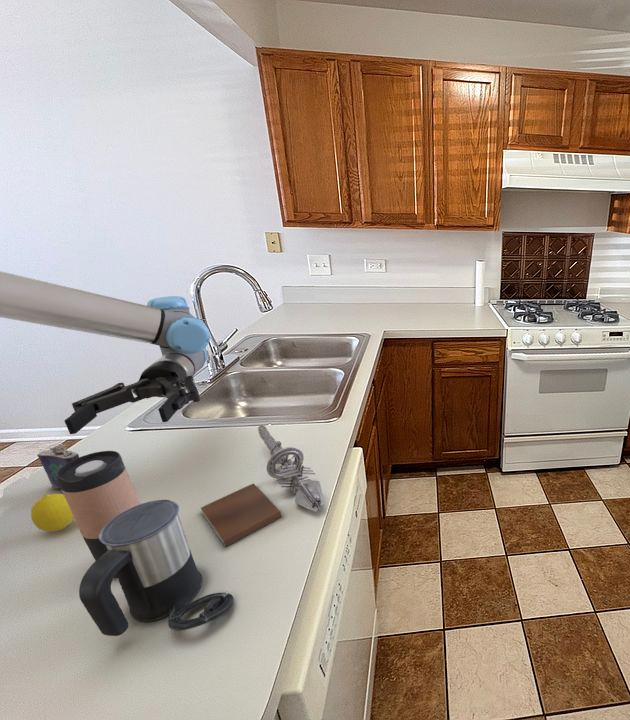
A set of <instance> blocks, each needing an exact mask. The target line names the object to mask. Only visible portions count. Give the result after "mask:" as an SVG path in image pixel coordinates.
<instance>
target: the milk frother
mask: <svg viewBox="0 0 630 720" xmlns="http://www.w3.org/2000/svg"><path fill="white" fill-rule="evenodd" d="M179 512H180V506H179V504H178V503H177V502H175V501H173V500H171V499H157V500H150V501H146V502H144V503H140V505H137V506H134V507H132V508H130V509H128V510H126V511H124V512H122V513H121V514H119V515H118V516H116V517H114V518H113V519H112V520H110V521H109V522H108V523H107V524H106V525H105V526H104V527H103V529H102V530H101V532H100V535H99V540H100V541H101V542H102V543H103V544H105V545H106V547H107V549H108V551H107V552H106V553H104V554H103V555H102V556H101V557H100V558H99V559H98V560H96V561H95V560H94V562H93V563H92V564H91V565H90V566H89V568H88V569H87V570H86V571H85V573H84V575H83V577H82V578H81V581H80V584H79V589H78V596H79V600H80V602H81V604H82V605H83V606H84V609H86V611H87V613H88V614H89V616H90V618H91V619H92V620H93V622H94V623H95V625H96V626H97V628H98V630H99V631H100V632H101V634H102V635H104V636H108V637H119V636H121V635H123V634H124V633H125V632H126V631H127V630H128V628H129V621H128V620H127V618H126V616H125V613H124V612H123V610H122V608H121V607H120V604H119V602H118V600H117V598H116V597H115V595H114V593H113V591H112V589H111V587H112V583H113V580H114V576H115V575H117V577H116V578H117V580H118V582H119V585H120V588H121V590H122V592H123V594H124V597H125V601H126V603H127V605H128V608H129V613H130V616H131V618H133V619H134V620H136V621H139V622H152V621H153V622H154V621H158V620H159V619H163V618H165V617H168V620H167V626H168V628H169V629H170V630H171V631H172V630H173V631H186V630H191V629H194V628H197V627H201V626H203V625H205V624H208V623H210V622H212V621H214V620H216V619H218V618H220V617H221V616H223V615H224V614H226V612H228V611H230V609H231V608H232V606H233V605H234V603H235V602H234V601H235V598H234V595H233V594H232V593H229V592H228V590H227V591H226V590H225V591H224V592H215V593H210V594H209V593H208V594H207V595H203V596H202V597H199V598H197V599H195V600H193V601H191V600H192V599H194V597H195V596H196V595H197V594H198V592H199V591H200V589H201V587H202V584H203V575H202V573H201V572H200V571H199V570H198V567H197V565H196V562H195V560H194V557H193V554H192V550H191V549H190V544H189V542H188V539H187V536H186V533H185V530H184V527H183V524H182V521H181V518H180V514H179ZM190 601H191V602H190ZM204 604H207V605H206V606H205V607H204V608H203V611H201V612H200V613H199V615H198V617H195V618H191V619H190V618H189V619H182V618H183V617H184V616H185V615H186V614H188V612H190V611H192V610H194V609H196V608H198V607H200V606H202V605H204Z"/></svg>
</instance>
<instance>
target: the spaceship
mask: <svg viewBox="0 0 630 720" xmlns="http://www.w3.org/2000/svg"><path fill="white" fill-rule="evenodd" d="M257 431H258V435H259V437H260V439H261V440H262V442H263V443H264V444H265V446H266V447H267V449H268V450H269V454H270V455H271V456H270V458H269V460H268V461H267V464H266V472H267V474H268V476H269V477H270V478H272V479H276V482H278V484H279V485H280V487H281V488H288V489H290V491H291V492H292V493H293V495H295V498H294V503H295V504H297V505H299V506H301V507H303V508H305V509H307V510H310V511H312V512H317V511H318V510H320V511H322V509H321V506H323V505H324V498H323V497H324V495H323V494H324V493H323V491H322V487H321V483H320V480H313V479H311V478H309V476H308V475H316V473H315V472H314V471H313V470H312V468H311V467H306V466H305V465H303V463H304V458H305V457H304V452H303V451H302V450H301V449H300V448H298V447H296V446H286V447H283V446H282V442H281V441H280V440H277V441H276V440H275V438H274V437H273V435H271V433H270V431H269V430H268V428H267V427H266V426H265V425H263V424H259V425H258V427H257ZM289 456H291V457H290V458H289ZM277 465H280V466H279V467H277ZM303 475H306V476H303ZM287 478H290V479H287Z"/></svg>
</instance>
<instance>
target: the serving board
mask: <svg viewBox="0 0 630 720" xmlns="http://www.w3.org/2000/svg"><path fill="white" fill-rule="evenodd" d="M200 510H201V513H202V515H203V517H204V518H205V520H206V521H207V522H208V524H209V526H210V527H211V528H212V530H213V531H214V533H215V535H216V536H217V537H218V539H219V540H220V541H221V543H222V545H223V546H224V547H225V548H227V547H229V546H231V545H232V544H235V543H236V542H238V541H240V540H241V539H244V538H246V537H247V536H249V535H251V534H253V533H255V532H256V531H258V530H260V529H262V528H264V527H266V526H268V525H269V524H271V523H273V522H276V521H277V520H279V519H281V518H282V513H281V510H279V508H278V507H277V506H276V505H275V504H274V502H272V501H271V500H270V499H269V498H268V496H267V495H265V494H264V492H262V491H261V489H260V488H259V487H258V486H257V485H256V484H255V483H254V482H253V483H251V484H249V485H246V486H245V487H242V488H241V489H238V490H236V491H234V492H232V493H229V494H227V495H225V496H223V497H221V498H219V499H216V500H214V501H212V502H210V503H208V504H205V505H203V506H201V507H200Z"/></svg>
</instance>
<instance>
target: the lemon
mask: <svg viewBox="0 0 630 720" xmlns="http://www.w3.org/2000/svg"><path fill="white" fill-rule="evenodd" d="M30 516H31V521H32V523H33V525H35V527H37V528H38V529H39V530H42V531H44V532H55V531H63V530H64V529H65V528H66V527H67V526H68V525H69V524H71V523H72V522H73V521H74V520H75V519H74V516H73V514H72V512H71V510H70V507H69V505H68V503H67V501H66V499H65V496H64V494H63V493H49V494H48V493H47V494H44V495H43V496H42V497H40V498H39V499H38V500H36V501H35V502H34V504H33V505H32V506H31V510H30Z"/></svg>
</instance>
